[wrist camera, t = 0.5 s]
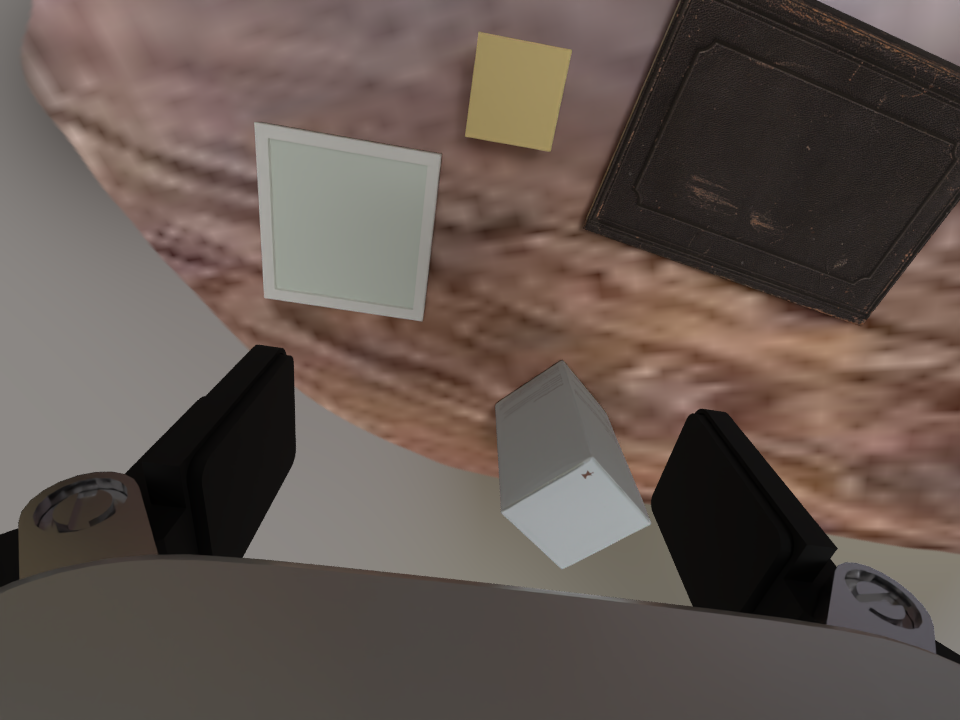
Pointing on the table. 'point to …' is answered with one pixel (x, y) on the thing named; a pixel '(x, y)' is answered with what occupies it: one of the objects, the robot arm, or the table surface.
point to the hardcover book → (787, 153)
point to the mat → (345, 221)
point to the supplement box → (564, 469)
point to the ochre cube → (516, 91)
